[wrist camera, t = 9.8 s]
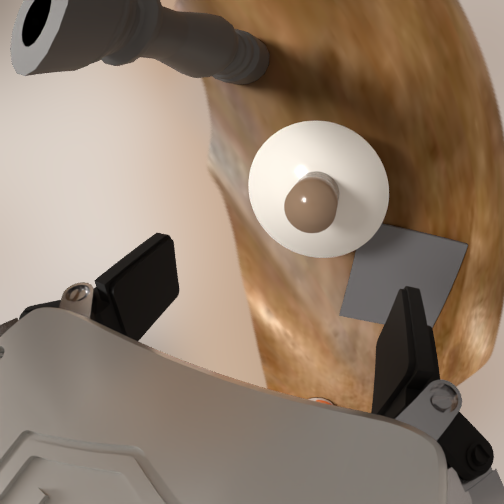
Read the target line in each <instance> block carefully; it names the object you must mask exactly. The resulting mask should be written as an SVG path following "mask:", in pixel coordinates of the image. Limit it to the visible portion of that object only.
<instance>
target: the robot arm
mask: <svg viewBox="0 0 504 504" xmlns="http://www.w3.org/2000/svg"><path fill="white" fill-rule="evenodd" d="M95 284H96V288H94V289H93V287H92V285H91V284H89V283H84V282H83V283H77V284H74V285H72V286H70V287H68V288H67V289H66V290H65V291H64V293H63V295H62V298H61V300H58V301H53V302H48V303H43V304H38V305H34V306H30V307H27V308H26V309H25V310H24V311H23V313H22V314H21V315H20V318H19V320H18V318H15V319H13V320H11V321H8V322H6V323H4V324H2V325H0V504H504V486H503V484H502V481H501V479H500V477H499V475H498V472H497V470H496V469H495V470H492V468H491V465H492V463H493V458H494V456H493V450H492V446H491V445H490V443H489V442H488V441H487V440H486V439H485V438H484V437H483V436H482V435H481V434H480V433H479V432H478V430H476V428H475V427H473V425H472V424H471V423H470V422H469V421H468V420H467V419H466V418H465V417H464V416H463V415H462V414H461V413H460V412H459V410H460V408H461V406H462V398H461V394H460V392H459V390H458V389H457V388H456V386H455V385H453V384H452V383H450V382H449V381H446V380H440V374H439V367H438V359H437V353H436V347H435V341H434V335H433V330H432V327H431V326H429V325H427V320H426V315H425V310H424V305H423V301H422V296H421V292H420V289H419V288H414V287H409V286H405V287H404V289H399V291H398V293H397V296H396V299H395V301H394V304H393V306H392V308H391V311H390V313H389V316H388V318H387V320H386V323H385V325H384V327H383V329H382V332H381V334H380V336H379V338H378V341H377V345H376V364H375V380H374V393H373V403H372V413H367V412H363V411H359V410H353V409H348V408H343V407H339V406H334V405H329V404H325V403H321V402H317V401H312V400H308V399H304V398H300V397H296V396H292V395H288V394H284V393H280V392H277V391H273V390H270V389H266V388H263V387H259V386H256V385H253V384H249V383H246V382H243V381H240V380H236V379H234V378H231V377H228V376H224V375H222V374H219V373H216V372H213V371H210V370H207V369H205V368H202V367H199V366H196V365H194V364H191V363H189V362H186V361H183V360H180V359H178V358H176V357H173V356H171V355H168V354H166V353H163V352H161V351H158V350H156V349H154V348H152V347H149V346H147V345H145V344H142V343H140V342H138V341H139V339H141V337H142V336H143V335H144V334H145V333H146V331H147V330H148V329H149V328H150V327H151V326H152V325H153V323H154V322H155V321H156V320H157V319H158V318H159V317H160V316H161V314H162V313H163V312H164V311H165V310H166V309H167V308H168V306H169V305H170V304H171V303H172V302H173V301H174V300H175V298H177V296H178V294H179V283H178V276H177V268H176V259H175V250H174V242H173V240H172V239H171V237H170V236H169V235H166V234H161V233H156V234H154V235H153V236H152V237H150V238H149V239H147V240H146V241H145V242H143V243H142V244H141V245H139V246H138V247H137V248H135V249H134V250H133V251H132V252H130V253H129V254H128V255H126V256H125V257H124V258H122V259H121V260H120V261H119V262H117V263H116V264H115V265H113V266H112V267H111V268H110V269H108V270H107V271H106V272H105V273H103V274H102V275H101V276H100V277H98V278H97V279H96V280H95Z"/></svg>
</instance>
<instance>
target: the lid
mask: <svg viewBox="0 0 504 504" xmlns="http://www.w3.org/2000/svg"><path fill="white" fill-rule="evenodd" d="M249 196H250V201H251V205H252V208H253V211H254V213H255V215H256V217H257V219H258V221H259V222H260V224H261V225H262V227H263V228H264V229H265V231H266V232H267V233H268V234H269V235H270V236H271V237H272V238H273V239H274V240H276V241H277V242H278V243H279V244H281V245H282V246H284V247H285V248H287V249H289V250H291V251H293V252H296V253H299V254H301V255H305V256H309V257H316V258H329V257H336V256H341V255H344V254H347V253H350V252H352V251H354V250H356V249H358V248H359V247H361V246H362V245H364V244H365V243H366V242H367V241H368V240H370V239H371V238H372V237H373V235H374V234H375V233H376V232H377V230H378V229H379V227H380V226H381V224H382V222H383V220H384V217H385V215H386V211H387V208H388V202H389V185H388V178H387V175H386V172H385V169H384V166H383V164H382V162H381V160H380V158H379V157H378V155H377V153H376V152H375V150H374V149H373V148H372V147H371V145H370V144H369V143H368V142H367V141H366V140H365V139H364V138H362V137H361V136H360V135H359V134H357V133H356V132H354V131H353V130H351V129H349V128H347V127H345V126H342V125H339V124H336V123H333V122H328V121H317V120H315V121H304V122H300V123H295V124H292V125H290V126H287V127H285V128H283V129H281V130H279V131H278V132H276V133H275V134H274V135H272V136H271V137H270V138H269V139H268V140H267V141H266V142H265V143H264V144H263V145H262V147H261V148H260V149H259V151H258V153H257V154H256V156H255V158H254V161H253V163H252V166H251V170H250V174H249Z"/></svg>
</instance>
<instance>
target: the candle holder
mask: <svg viewBox="0 0 504 504" xmlns="http://www.w3.org/2000/svg"><path fill="white" fill-rule="evenodd" d="M10 50H11V60H12V65H13V67H14V69H15V71H16V73H17V74H21V75H24V76H27V75H34V74H42V73H51V72H61V71H75V70H78V69H80V68H83V67H85V66H88V65H89V64H91V63H94V62H97V61H99V60H102V61H103V62H104V63H106V64H110V65H114V66H120V65H123V64H127V63H131V62H134V61H135V60H136V59H138V58H139V57H146V58H153V59H156V60H158V61H160V62H162V63H164V64H166V65H168V66H170V67H171V68H173V69H175V70H177V71H178V72H180V73H182V74H185V75H188V76H190V77H194V78H201V77H210V76H213V77H214V78H215V79H218V80H221V81H223V82H227V83H233V84H249V83H251V82H254V81H256V80H258V79H259V78H260V77H261V76H262V75H263V74H264V73H265V71H266V69H267V67H268V65H269V52H268V50H267V48H266V45H264V44H263V43H262V42H261V41H260V40H259V39H257V38H256V37H254V36H253V35H251V34H250V33H248V32H245V31H242V30H238V29H237V30H236V29H234V27H233V25H231V24H230V23H229V22H228V21H226V20H225V19H224V18H222V17H221V16H217V15H212V14H207V13H194V12H178V11H174V10H171V9H169V8H166V7H163V6H162V5H161V2H160V0H24V2H23V3H22V6H21V8H20V10H19V12H18V15H17V18H16V21H15V24H14V28H13V32H12V39H11V48H10Z"/></svg>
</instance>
